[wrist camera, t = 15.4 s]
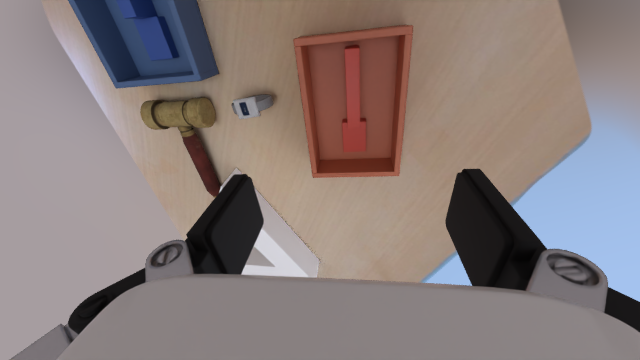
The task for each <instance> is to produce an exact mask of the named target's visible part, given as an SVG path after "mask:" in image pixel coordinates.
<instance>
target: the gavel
mask: <svg viewBox="0 0 640 360" xmlns="http://www.w3.org/2000/svg"><path fill="white" fill-rule="evenodd" d="M140 113H141V117H142V120H143V122H144V123H145V124H146V125H147V126H148V127H149V128H151V129H155V130H157V129H168V128H169V127H178V129H179V131H180V133H181V135H182V138H183V142H184V144H185V146H186V148H187V150H188V152H189V154H190V156H191V158H192V161H193V163H194V165H195V167H196V169H197V171H198V173H199V175H200V177H201V179H202V181H203V183H204V185H205V187H206V189H207V191H208V192H209V193H210V194H211V195H212V196H213V197H214V198H216V196H217V195H218V194H219V191H220V185H219V182H218V180H217V178H216V175H215V173H214V171H213V169H212V166H211V164H210V162H209V160H208V157H207V155H206V153H205V150H204V148H203V146H202V144H201V141H200V139H199V137H198V136H197V134H196V133H195V131H194V129H193V128H192V127H193V126H195V127H197V128H206V127H211V126H212V125H213V124H214V121H215V110H214V107H213V105H212V103H211V102H210V101H209V100H208V99H207V98H205V97H203V98H191V99H190V100H189V101H171V102H164V101H161V100H153V101H146V102H144V103H143V104H142V106H141V111H140Z"/></svg>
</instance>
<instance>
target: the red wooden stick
mask: <svg viewBox="0 0 640 360" xmlns="http://www.w3.org/2000/svg"><path fill="white" fill-rule="evenodd" d="M344 52H345V77H346V103H347V119H342V133H343V152H361V151H366V118H360V48H359V45H352V46H346V47H345V50H344Z"/></svg>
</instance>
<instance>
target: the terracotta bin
mask: <svg viewBox="0 0 640 360" xmlns="http://www.w3.org/2000/svg"><path fill="white" fill-rule="evenodd" d="M412 33H413V26H412V25H399V26H390V27H382V28H373V29H364V30H356V31H347V32H338V33H329V34H321V35H312V36H303V37H299V38H296V39H294V46H295V54H296V62H297V69H298V76H299V83H300V90H301V97H302V104H303V112H304V119H305V126H306V133H307V140H308V147H309V154H310V162H311V169H312V176H313V178H321V177H371V176H399V173H400V172H399V171H400V162H401V151H402V141H403V130H404V120H405V109H406V99H407V88H408V77H409V67H410V56H411V46H412ZM352 45H359V48H360V118H366V151H361V152H343V133H342V119H347V103H346V77H345V52H344V50H345V47H346V46H352Z"/></svg>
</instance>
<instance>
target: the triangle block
mask: <svg viewBox="0 0 640 360" xmlns="http://www.w3.org/2000/svg"><path fill="white" fill-rule="evenodd" d="M235 174H242V173H241V172H240V171H239V170H238V169H237V167H236V168H235V170H234V171H233V172H232V173H231V175H230V176H229V177H228V178H227V180H226V181H225V182H224V183H223V185H222V186H221V188H220V191H221V190H222V189H223V187H224V186H225V185H226V184H227V182H228V181H229V180H230V178H231V177H232V176H233V175H235ZM254 189H255V188H254ZM220 191H219V192H220ZM255 192H256V195H257V198H258V202H259V205H260V208H261V211H262V215H263V218H264V224H263V227H262V229H261V231H260V233H259V236H258V238H257V240H256V242H255V244H254V247H253V249H252V251H251V253H250V256H249V258H248V260H247V262H246V265H245V267H244V269H243V271H242V274H241V275H265V276H289V277H312V278H317V274H318V267H319V259H318V258H317V257H316V256H315V255H314V254H313V253H312V251H311V250H310V249H309V248H308V247H307V246H306V245H305V244H304V242H303V241H302V240H301V239H300V238H299V237H298V236H297V235H296V234H295V232H294V231H293V230H292V229H291V228H290V227H289V226H288V225H287V223H286V222H285V221H284V220H283V219H282V218H281V217H280V216H279V214H278V213H277V212H276V211H275V210H274V209H273V208H272V207H271V206H270V204H269V203H268V202H267V201H266V200H265V199H264V198H263V197H262V195H261V194H260V193H259V192H258V191H257V190H256V189H255Z"/></svg>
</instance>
